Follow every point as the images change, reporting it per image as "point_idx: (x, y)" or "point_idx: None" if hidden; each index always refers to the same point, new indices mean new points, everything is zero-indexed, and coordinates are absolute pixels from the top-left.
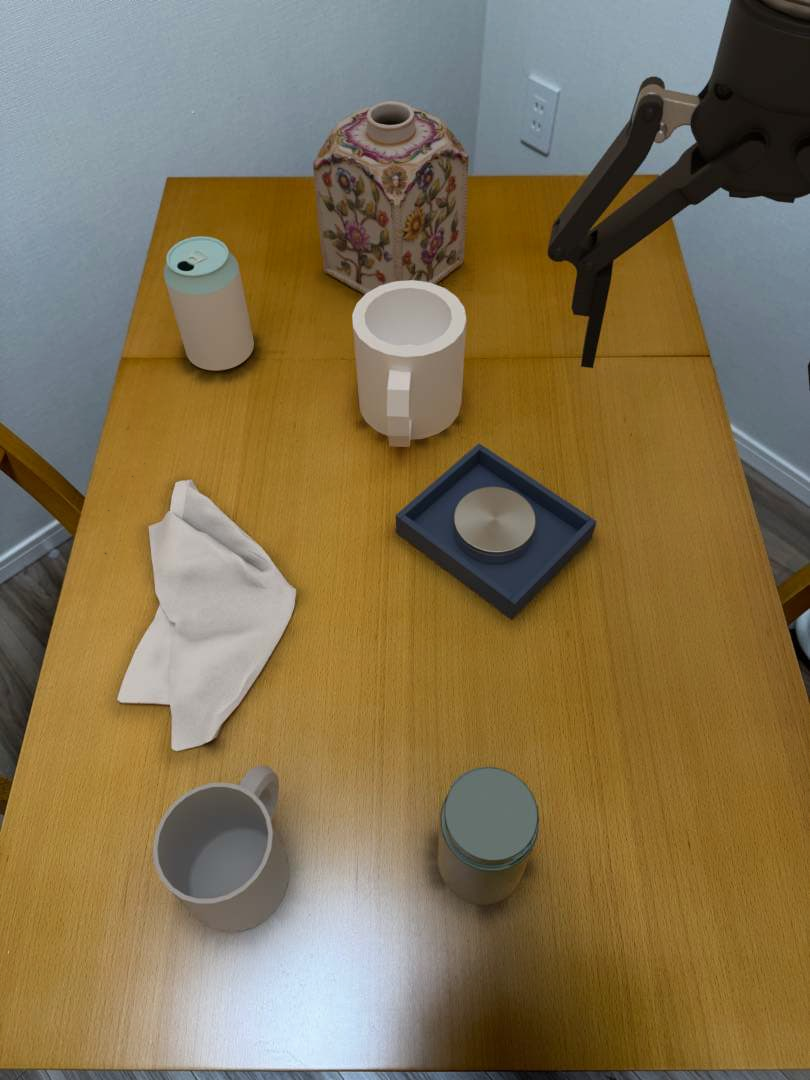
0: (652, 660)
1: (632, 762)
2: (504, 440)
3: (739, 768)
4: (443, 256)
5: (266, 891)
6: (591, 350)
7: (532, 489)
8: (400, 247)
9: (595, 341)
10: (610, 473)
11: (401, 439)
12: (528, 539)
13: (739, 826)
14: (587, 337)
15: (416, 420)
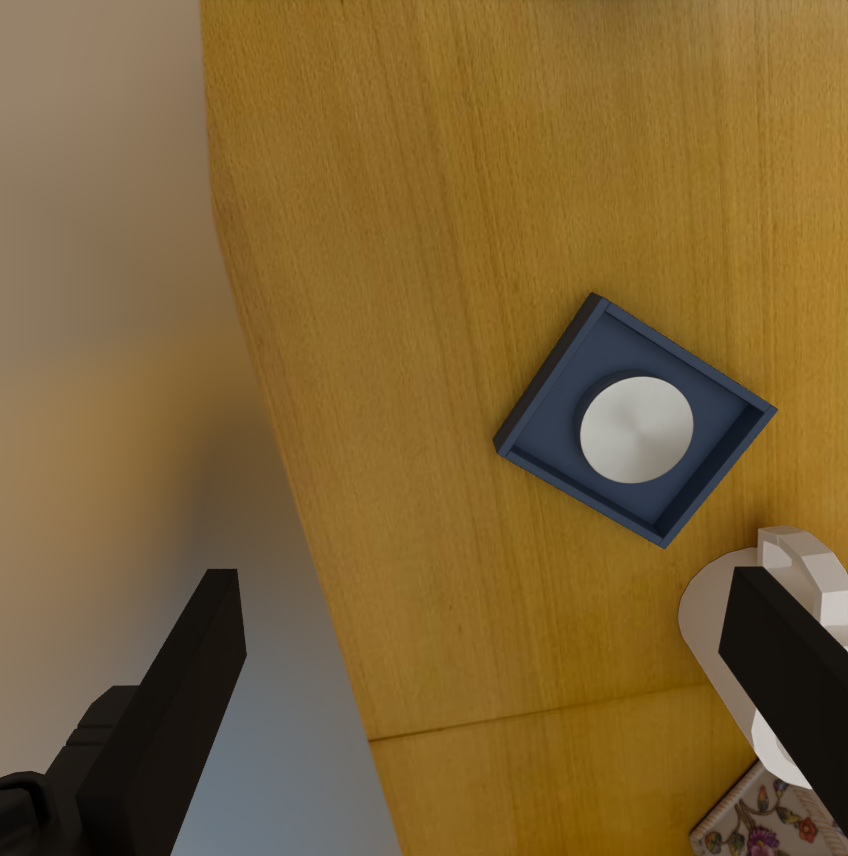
0: (403, 269)
1: (420, 107)
2: (616, 569)
3: (284, 130)
4: (732, 842)
5: None
6: (775, 597)
7: (584, 490)
8: (834, 846)
9: (787, 616)
10: (473, 543)
11: (781, 531)
12: (587, 407)
13: (279, 42)
14: (815, 622)
15: None
